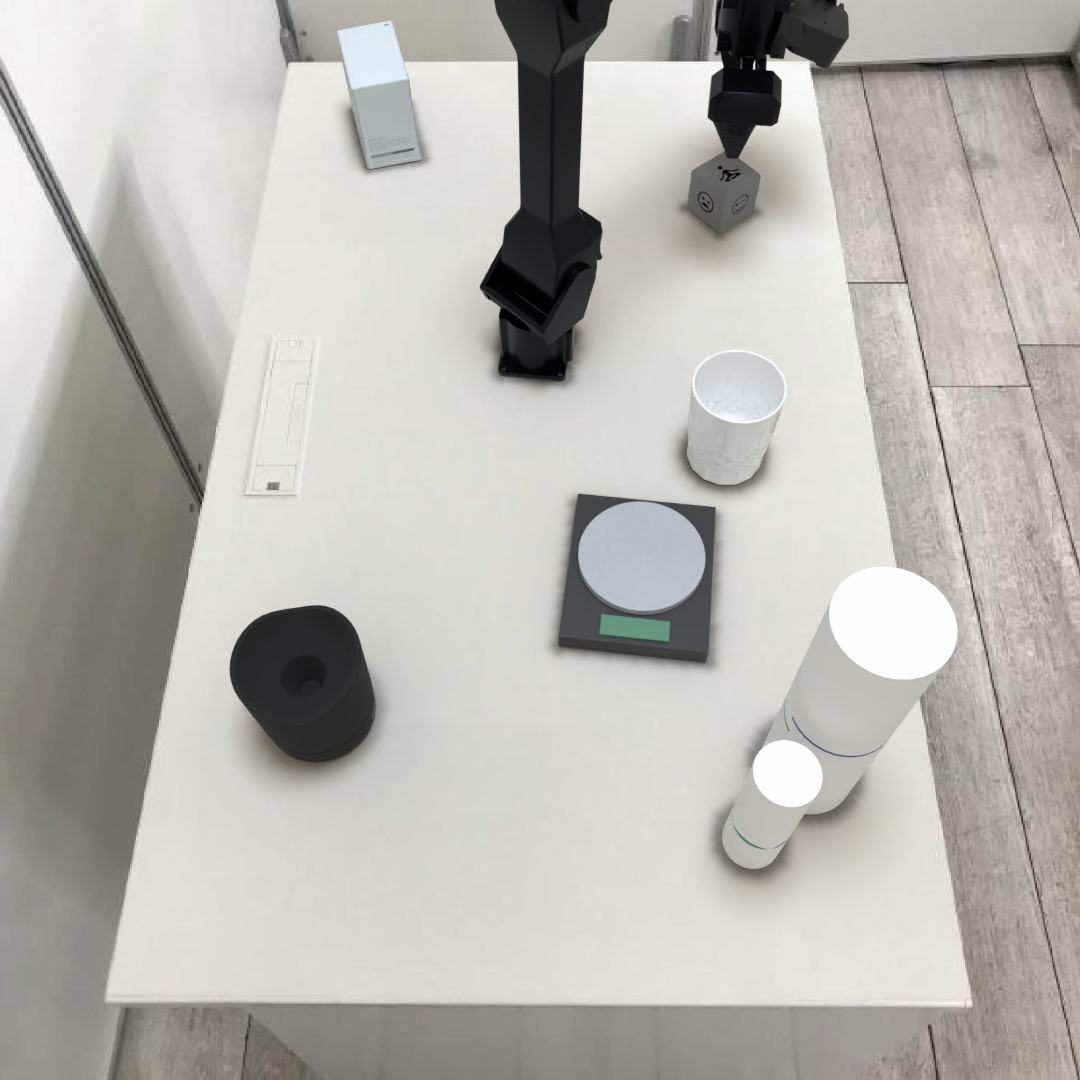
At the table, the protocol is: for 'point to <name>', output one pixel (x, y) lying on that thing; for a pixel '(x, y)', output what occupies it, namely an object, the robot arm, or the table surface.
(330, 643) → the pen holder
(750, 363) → the white cup
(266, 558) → the table surface
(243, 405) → the table surface
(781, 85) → the robot arm
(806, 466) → the table surface
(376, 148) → the cosmetics box
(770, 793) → the tube
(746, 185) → the dice cube
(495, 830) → the table surface
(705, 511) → the scale
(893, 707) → the cylindrical container
